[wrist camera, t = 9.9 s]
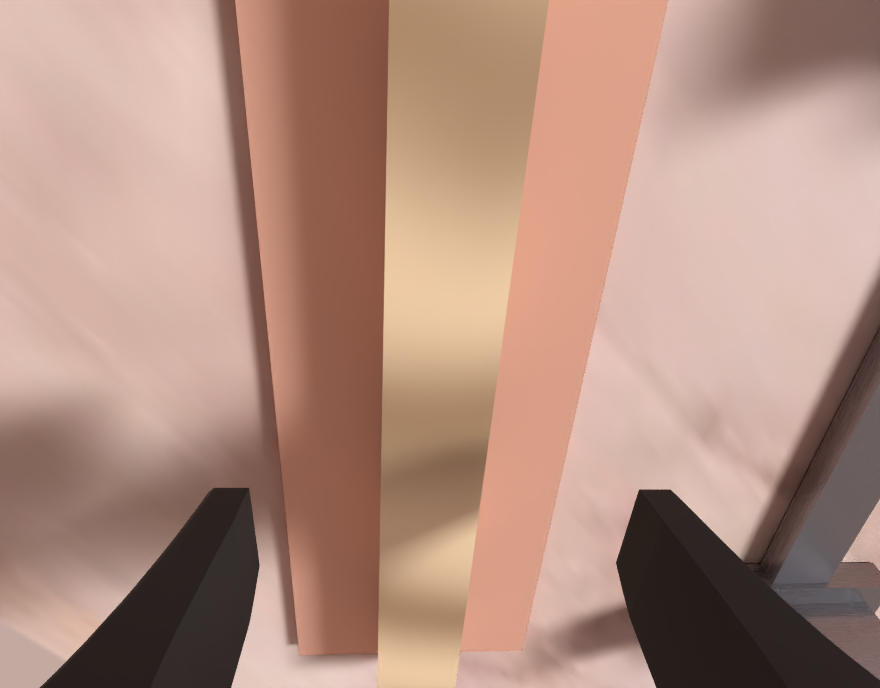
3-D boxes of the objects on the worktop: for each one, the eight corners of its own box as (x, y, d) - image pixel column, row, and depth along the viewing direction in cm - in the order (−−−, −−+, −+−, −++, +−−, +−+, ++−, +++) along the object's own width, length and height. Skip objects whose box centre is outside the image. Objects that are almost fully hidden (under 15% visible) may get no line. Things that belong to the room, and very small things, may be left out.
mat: (519, 637, 22) (522, 650, 22) (301, 641, 22) (299, 655, 21) (709, -235, 10) (723, -244, 10) (214, -289, 9) (206, -300, 9)
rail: (445, 653, 22) (450, 723, 20) (378, 654, 21) (376, 725, 19) (549, -256, 9) (592, -322, 7) (395, -273, 9) (395, -347, 7)
